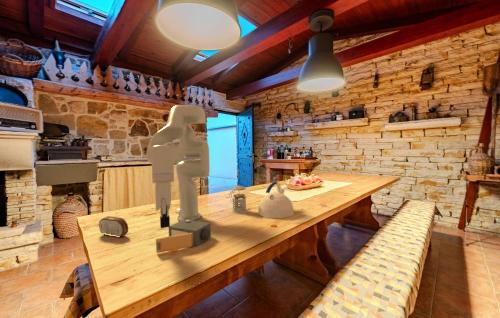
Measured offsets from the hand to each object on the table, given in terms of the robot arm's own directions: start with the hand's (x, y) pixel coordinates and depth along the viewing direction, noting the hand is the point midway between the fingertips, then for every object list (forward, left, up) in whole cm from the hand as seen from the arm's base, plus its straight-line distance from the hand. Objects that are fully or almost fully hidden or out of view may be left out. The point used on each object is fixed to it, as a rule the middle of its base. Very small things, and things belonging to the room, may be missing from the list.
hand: (165, 226), depth 79 cm
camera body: (+2, +11, -9) cm, 14 cm away
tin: (-33, +1, -9) cm, 34 cm away
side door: (+4, 0, -8) cm, 9 cm away
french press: (+3, +53, -9) cm, 53 cm away
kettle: (+25, +57, -9) cm, 63 cm away
